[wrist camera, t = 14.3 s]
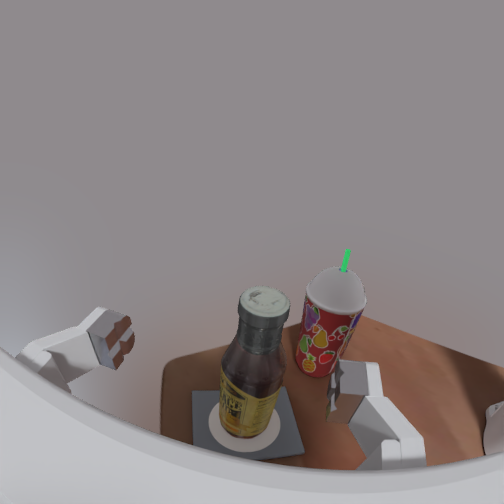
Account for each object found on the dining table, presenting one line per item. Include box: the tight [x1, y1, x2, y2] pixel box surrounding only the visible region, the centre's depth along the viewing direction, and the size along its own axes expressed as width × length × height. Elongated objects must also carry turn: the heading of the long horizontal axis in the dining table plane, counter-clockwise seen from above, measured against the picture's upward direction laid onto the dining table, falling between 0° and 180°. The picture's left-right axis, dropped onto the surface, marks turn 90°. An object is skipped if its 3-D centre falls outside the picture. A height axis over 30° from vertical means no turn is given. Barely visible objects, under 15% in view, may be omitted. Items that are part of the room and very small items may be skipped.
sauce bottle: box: [219, 286, 290, 439], centre depth 27 cm, size 6×6×20 cm
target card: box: [192, 387, 305, 460], centre depth 32 cm, size 13×11×1 cm
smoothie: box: [296, 249, 367, 377], centre depth 38 cm, size 8×8×20 cm
